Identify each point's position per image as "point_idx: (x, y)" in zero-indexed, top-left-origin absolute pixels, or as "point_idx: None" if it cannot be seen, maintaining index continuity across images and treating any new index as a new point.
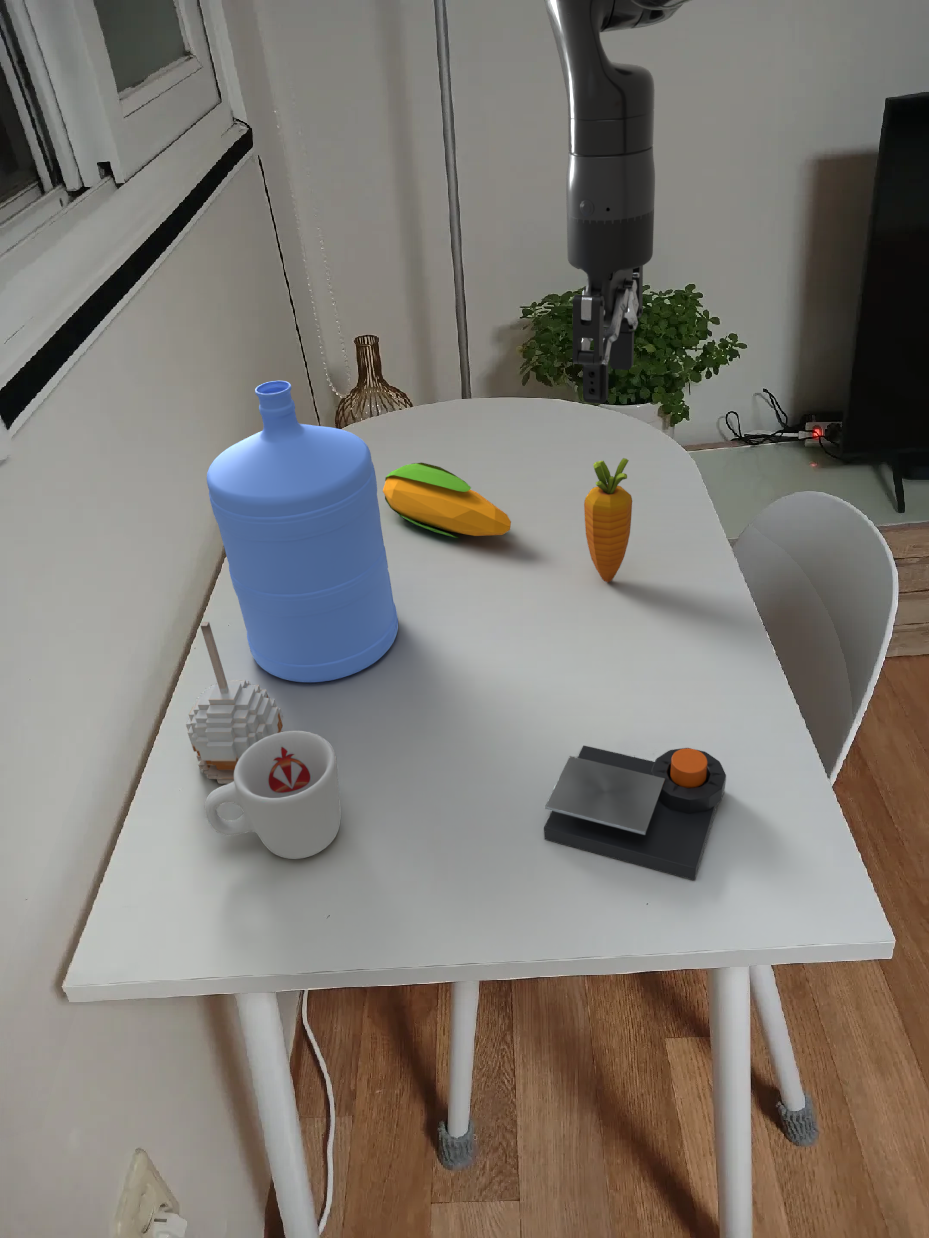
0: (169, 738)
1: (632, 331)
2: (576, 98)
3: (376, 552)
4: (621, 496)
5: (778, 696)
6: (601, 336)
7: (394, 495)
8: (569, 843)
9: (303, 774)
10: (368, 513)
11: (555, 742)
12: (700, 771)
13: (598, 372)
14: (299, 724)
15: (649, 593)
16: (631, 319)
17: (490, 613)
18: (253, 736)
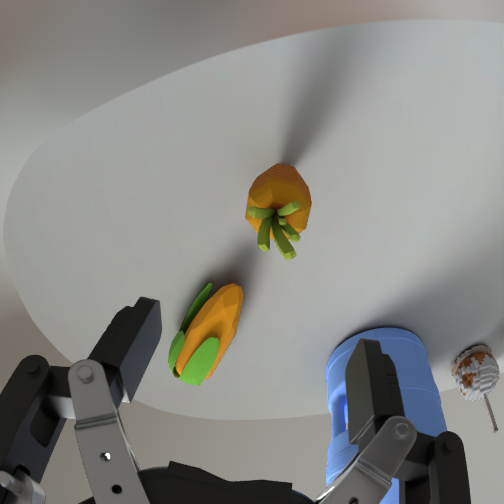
0: (447, 389)
1: (102, 363)
2: None
3: (410, 394)
4: (288, 196)
5: (444, 22)
6: (454, 499)
7: (211, 374)
8: None
9: None
10: (418, 426)
11: (497, 200)
12: None
13: (403, 412)
14: (453, 347)
15: (299, 127)
16: (116, 413)
17: (346, 270)
18: (497, 367)
